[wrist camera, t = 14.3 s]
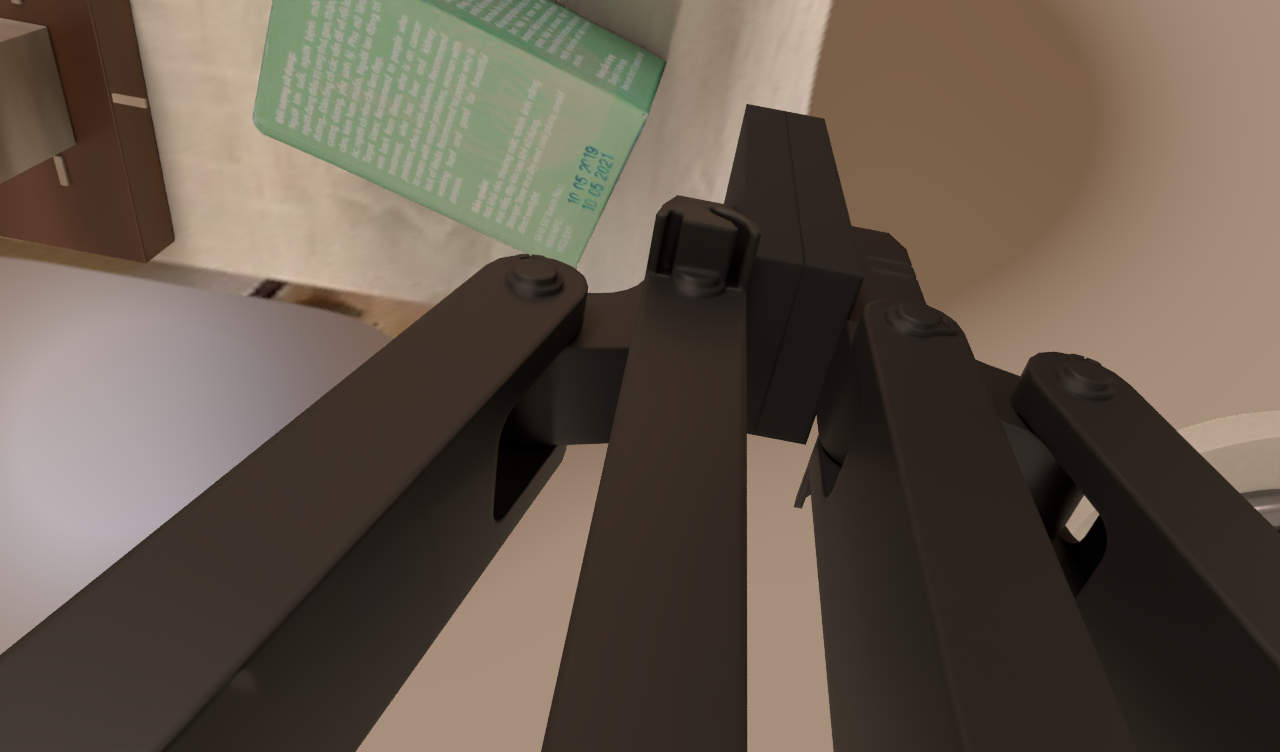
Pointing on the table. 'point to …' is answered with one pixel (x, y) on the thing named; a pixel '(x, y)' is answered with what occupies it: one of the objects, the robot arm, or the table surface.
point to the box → (463, 107)
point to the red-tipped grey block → (29, 99)
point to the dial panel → (92, 141)
